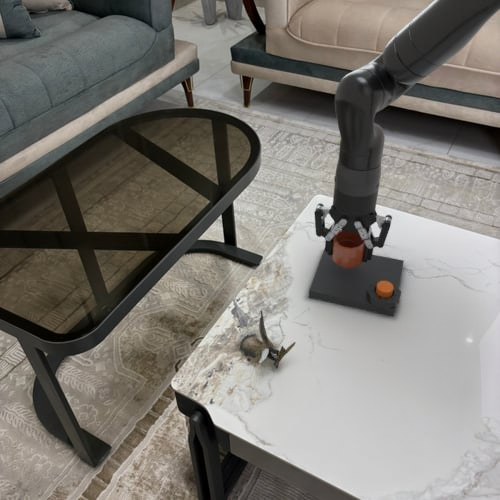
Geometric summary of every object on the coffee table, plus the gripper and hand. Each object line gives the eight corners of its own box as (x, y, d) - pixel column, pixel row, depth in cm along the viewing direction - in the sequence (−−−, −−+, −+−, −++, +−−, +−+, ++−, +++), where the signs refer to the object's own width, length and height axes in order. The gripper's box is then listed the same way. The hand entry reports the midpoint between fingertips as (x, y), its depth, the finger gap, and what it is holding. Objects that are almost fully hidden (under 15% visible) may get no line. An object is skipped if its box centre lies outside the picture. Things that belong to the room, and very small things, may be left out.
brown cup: (366, 251, 98) (369, 231, 95) (360, 272, 94) (363, 252, 91) (335, 245, 100) (337, 226, 97) (328, 265, 96) (330, 245, 92)
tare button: (393, 288, 93) (394, 282, 92) (391, 299, 90) (392, 293, 89) (377, 285, 93) (378, 279, 92) (374, 296, 91) (375, 290, 90)
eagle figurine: (302, 346, 85) (267, 311, 90) (291, 340, 79) (254, 303, 83) (272, 379, 85) (238, 342, 90) (258, 375, 79) (223, 336, 83)
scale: (404, 267, 101) (407, 254, 99) (395, 318, 91) (398, 305, 89) (325, 252, 106) (326, 239, 104) (307, 299, 96) (308, 286, 93)
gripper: (402, 178, 87) (388, 251, 97) (320, 165, 91) (316, 237, 101) (396, 201, 81) (382, 276, 92) (310, 187, 85) (306, 261, 96)
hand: (347, 255), depth 97 cm, fingers closed on brown cup, 6 cm apart
